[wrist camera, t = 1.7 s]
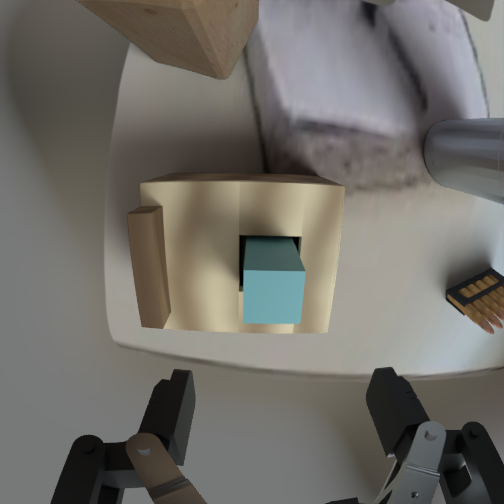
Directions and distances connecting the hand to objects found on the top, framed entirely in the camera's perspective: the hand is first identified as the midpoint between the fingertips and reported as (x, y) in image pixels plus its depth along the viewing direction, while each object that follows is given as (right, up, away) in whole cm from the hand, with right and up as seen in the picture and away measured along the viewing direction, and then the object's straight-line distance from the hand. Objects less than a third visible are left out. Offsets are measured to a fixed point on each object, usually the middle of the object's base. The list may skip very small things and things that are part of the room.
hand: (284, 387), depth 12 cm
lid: (-2, +5, +15) cm, 16 cm away
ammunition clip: (+33, +1, +26) cm, 42 cm away
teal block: (0, +6, +18) cm, 19 cm away
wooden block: (-7, +31, +16) cm, 36 cm away
